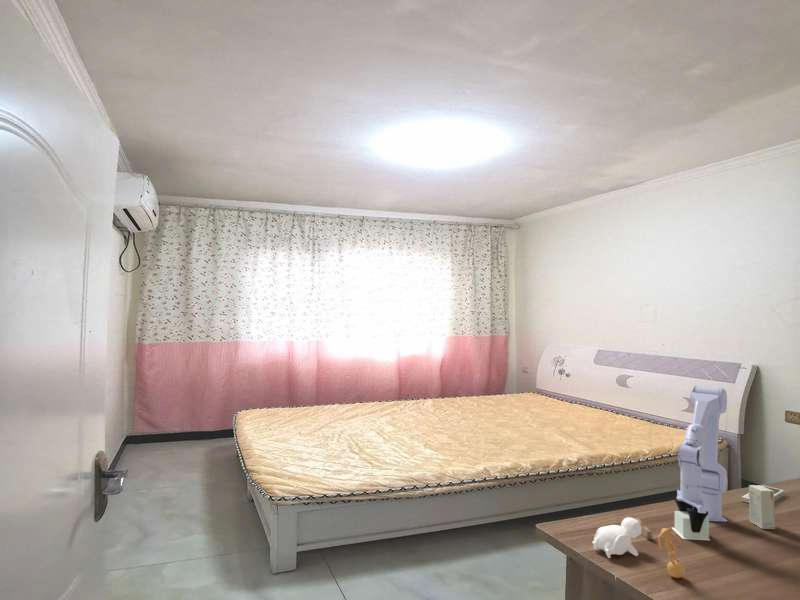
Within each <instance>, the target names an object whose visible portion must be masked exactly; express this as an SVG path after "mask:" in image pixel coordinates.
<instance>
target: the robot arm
mask: <svg viewBox="0 0 800 600" xmlns="http://www.w3.org/2000/svg"><path fill="white" fill-rule="evenodd" d="M689 396H690V397H689V398H690V402H691V404H692V406H693V407H694V410H693V417H692V423H691V424H689V425H688V426H687V427H686V430H685V431H686V432H685V435H684V439H683V442H682V445H681V444H680V445H678V449H677V461H678V467H679V468H680V489H677V490H676V494H677V495H676V498H675V499H674V502H675V503H676V505H677V508H678V511H685V512H688V514H689V517H690V523H691V529H692V532H696V533H700V531H701V527H702V524H703V521H704V519H705V518H707V519H709V522H724V523H726V522H728V520H727V519H726V518H725V517H723V516H722V494H724V493H725V492H727V488H728V477H727V476H728V473H727V470H726V468H725V467H724V466H723V465H721V464H720V463H719V462H718V455H719V452H718V451H719V434H720V433H719V431H720V430H719V429H720V417H721V414H726V412H727V409H728V405H727V404H728V394H727V391H726V389H725V388H719V387H718V388H717V387H708V386H707V387H706V386H700V385H693V386H692V387H691V389H690V395H689Z"/></svg>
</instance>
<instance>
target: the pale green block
mask: <svg viewBox="0 0 800 600" xmlns="http://www.w3.org/2000/svg"><path fill="white" fill-rule="evenodd" d="M674 528H675V530H676V531H677V532H679V533H680V534H681V535H682V536H683V537H698V538H709V539H710V521H709V519H707V518H705V519H704V521H703V524H702V527H701V531H700V533H696V532H692V529H691V523H690V517H689V514H688V512H685V511H679V510H674Z"/></svg>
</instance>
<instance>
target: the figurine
mask: <svg viewBox="0 0 800 600" xmlns="http://www.w3.org/2000/svg"><path fill="white" fill-rule="evenodd" d="M672 536H673V537H675V539H676V540H677V541H678V542H679V543H680V545H681V546H683V544H682V541H681V540H680V538H679V537H678V536H677V535H676V532H674V531H672V528H671V527H668V528H666V527H663V528H661V530H660V534H659V535H658V536H657V540H658V541H657V542H658V545H659V550H660V551H661V552H662V551H663V550H664V549H663V547H662V542H661V538H663V539H664V540H665V543H664V545H665V547H666V549H667V550H668V553H667V554H668V558H669V560H670V561H669V562H668V564H667V566H666V569H667V573H668V574H669V576H671V577H673V578H675V579H681V578H682V577H684V575H685V567H684V565H682V563H681V562H679V560H677V558H676V554H677V553H678V551H679V550H678V548H677V547H676V545H675V543H674V541H672ZM673 550H674V551H673ZM672 558H673V559H672Z"/></svg>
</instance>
